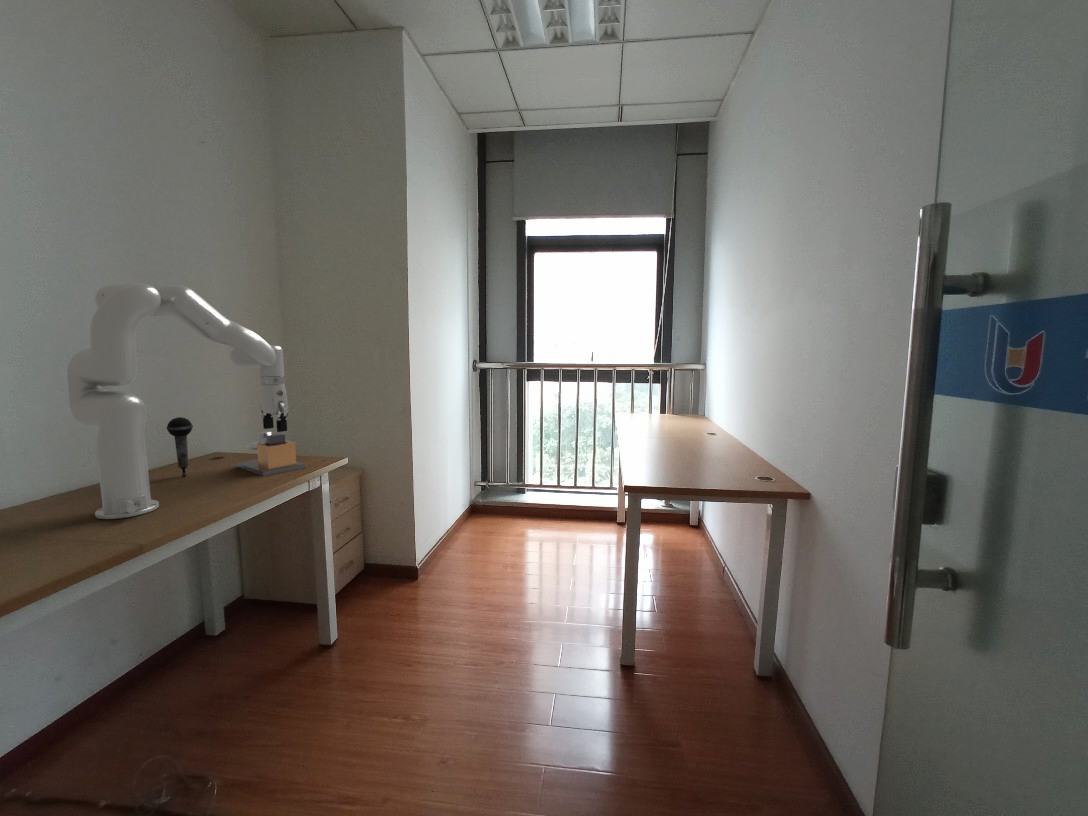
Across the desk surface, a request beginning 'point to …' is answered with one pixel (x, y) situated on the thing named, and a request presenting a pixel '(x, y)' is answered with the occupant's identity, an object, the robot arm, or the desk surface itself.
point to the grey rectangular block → (275, 439)
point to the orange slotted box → (271, 457)
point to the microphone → (180, 439)
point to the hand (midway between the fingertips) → (275, 429)
